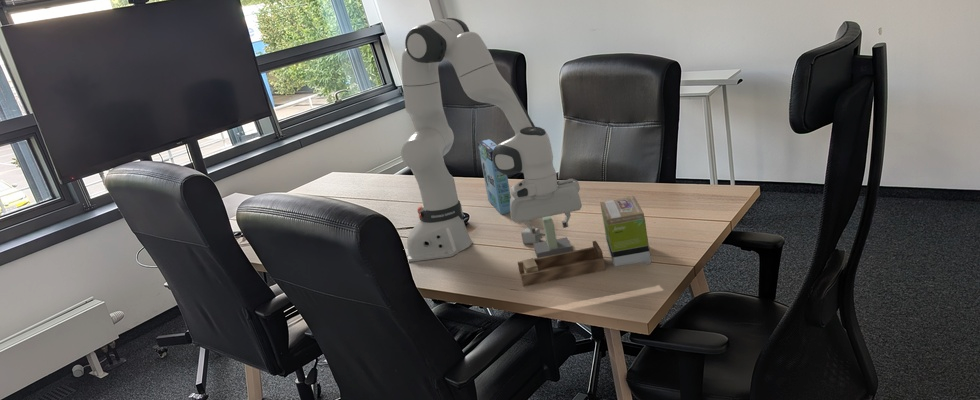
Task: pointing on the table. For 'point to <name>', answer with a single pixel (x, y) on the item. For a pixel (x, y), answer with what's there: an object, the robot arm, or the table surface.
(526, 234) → the usb wall charger
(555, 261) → the rack
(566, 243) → the riser
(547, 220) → the tall board
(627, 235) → the tea box
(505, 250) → the table surface
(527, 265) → the offcut top
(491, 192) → the blue cardboard box
